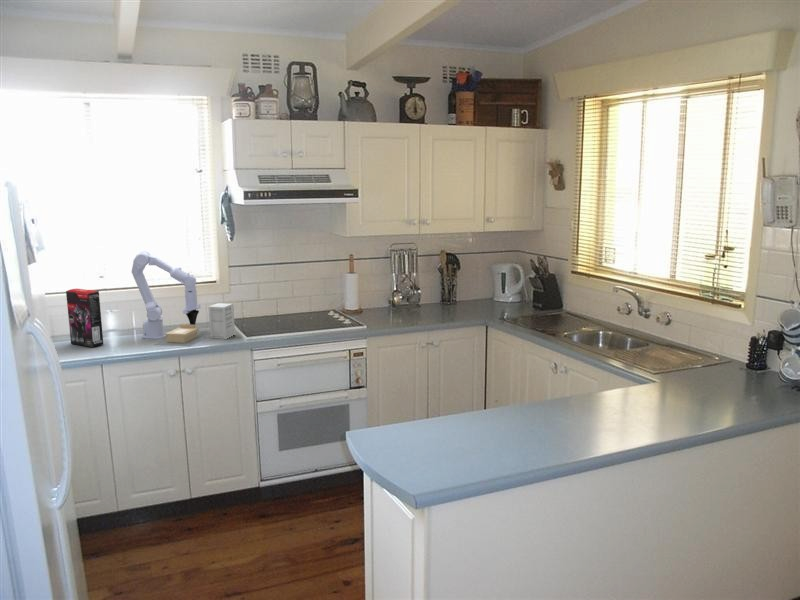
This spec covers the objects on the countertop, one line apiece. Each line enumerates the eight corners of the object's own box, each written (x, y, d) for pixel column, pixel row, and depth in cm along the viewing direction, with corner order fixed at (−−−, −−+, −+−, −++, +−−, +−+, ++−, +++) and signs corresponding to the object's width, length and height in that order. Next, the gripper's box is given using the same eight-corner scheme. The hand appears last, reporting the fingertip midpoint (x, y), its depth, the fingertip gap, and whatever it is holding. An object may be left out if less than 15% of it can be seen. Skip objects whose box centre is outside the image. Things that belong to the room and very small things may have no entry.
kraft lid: (165, 336, 330) (165, 330, 329) (179, 329, 343) (179, 323, 343) (184, 337, 328) (184, 330, 327) (198, 330, 341) (198, 324, 341)
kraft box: (167, 342, 330) (166, 334, 329) (181, 335, 344) (181, 328, 343) (184, 343, 329) (183, 335, 328) (197, 336, 342) (197, 328, 341)
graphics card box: (69, 344, 330) (64, 290, 325) (82, 341, 336) (76, 287, 331) (92, 348, 322) (87, 292, 317) (105, 344, 328) (100, 290, 323)
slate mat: (153, 345, 326) (153, 344, 326) (176, 334, 348) (176, 334, 347) (189, 347, 323) (189, 346, 323) (210, 336, 344) (210, 335, 344)
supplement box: (235, 335, 346) (234, 303, 343) (226, 339, 337) (224, 307, 334) (219, 334, 348) (217, 302, 345) (209, 338, 340) (207, 306, 336)
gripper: (191, 301, 336) (193, 328, 338) (205, 296, 350) (206, 321, 352) (178, 301, 337) (180, 327, 339) (192, 296, 351) (194, 321, 353)
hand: (192, 324), depth 346 cm, fingers closed
